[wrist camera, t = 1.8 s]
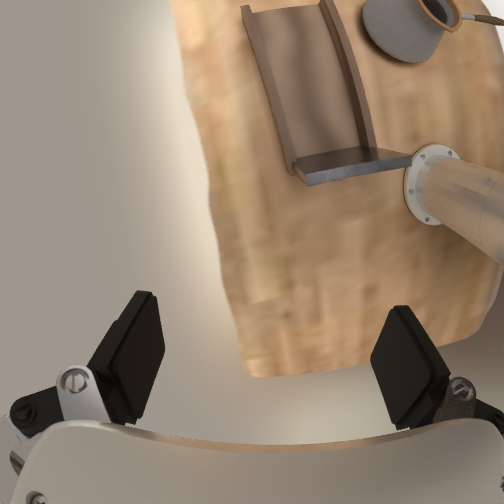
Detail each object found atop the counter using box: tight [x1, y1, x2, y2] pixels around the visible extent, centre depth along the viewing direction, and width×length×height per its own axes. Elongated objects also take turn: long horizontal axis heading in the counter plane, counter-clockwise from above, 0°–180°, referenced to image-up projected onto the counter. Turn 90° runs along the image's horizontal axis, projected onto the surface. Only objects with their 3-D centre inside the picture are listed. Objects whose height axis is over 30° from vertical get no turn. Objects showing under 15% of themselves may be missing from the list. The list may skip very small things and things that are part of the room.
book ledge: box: [240, 0, 377, 176], centre depth 27 cm, size 11×22×4 cm, turn 15°
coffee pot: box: [362, 0, 504, 63], centre depth 17 cm, size 21×12×15 cm, turn 106°
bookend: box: [292, 146, 412, 186], centre depth 26 cm, size 10×1×12 cm, turn 105°
